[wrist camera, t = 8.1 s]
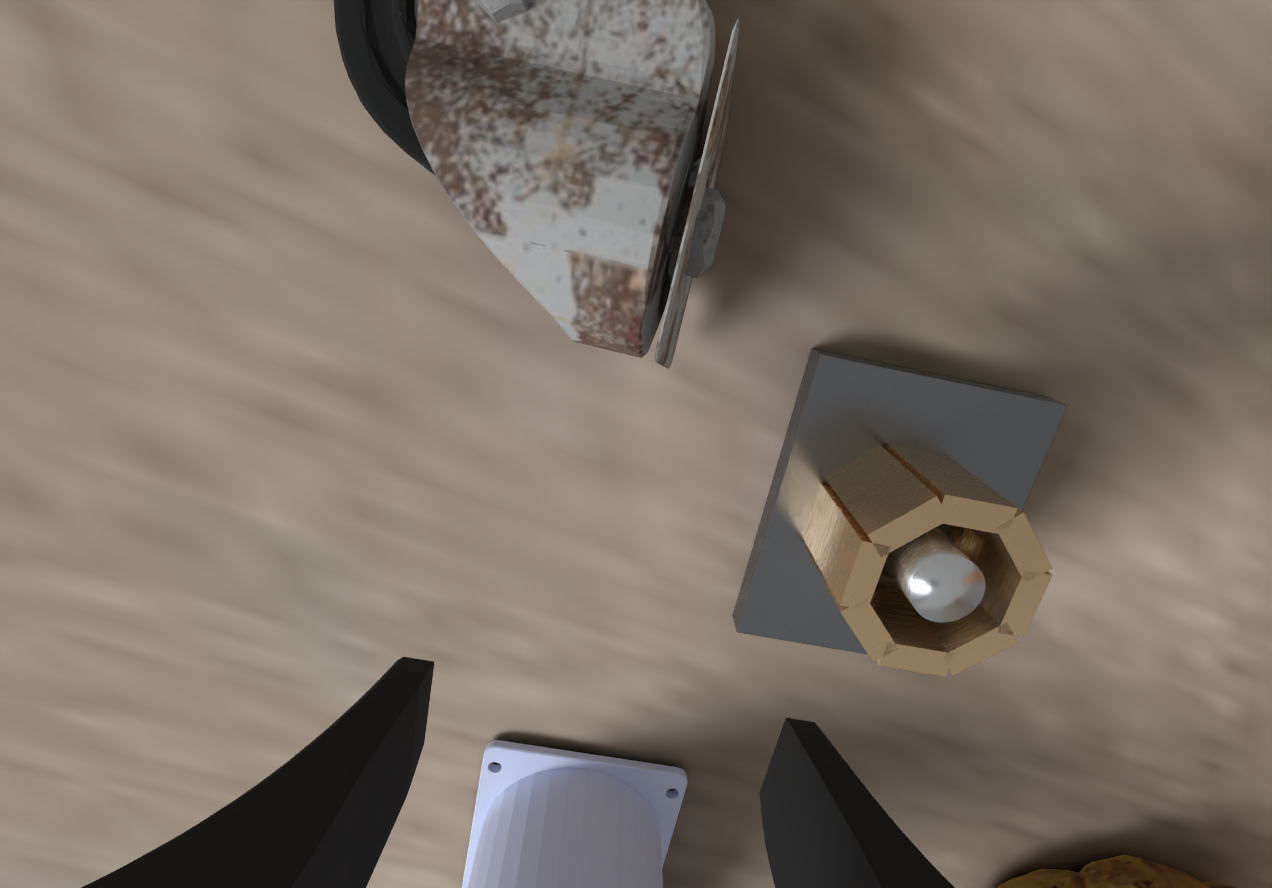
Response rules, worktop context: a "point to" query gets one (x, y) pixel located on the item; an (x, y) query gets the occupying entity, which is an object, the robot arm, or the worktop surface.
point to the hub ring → (900, 512)
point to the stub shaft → (854, 425)
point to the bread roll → (1111, 876)
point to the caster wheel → (562, 142)
